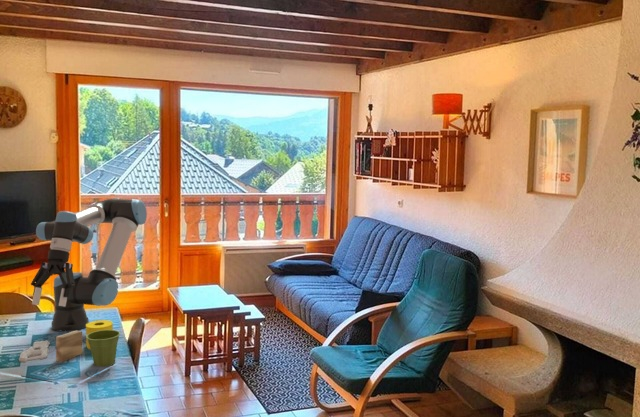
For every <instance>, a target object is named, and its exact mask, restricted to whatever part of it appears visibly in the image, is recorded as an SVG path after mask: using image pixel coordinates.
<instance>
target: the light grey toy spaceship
mask: <svg viewBox="0 0 640 417" xmlns="http://www.w3.org/2000/svg"><path fill="white" fill-rule="evenodd" d="M49 345H51V342H50V341H48V340H41V341H33V343H32V346H31V345H30V346H29V348H28V349H27V350H24V351H22V352H20V354H19V358H18V362H19V363H20V362H21V363H27V362H29V361H35V360H44V359H47V358H48V355H49V353H50V349H49Z"/></svg>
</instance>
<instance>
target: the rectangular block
mask: <svg viewBox="0 0 640 417" xmlns="http://www.w3.org/2000/svg"><path fill="white" fill-rule="evenodd" d="M55 338H56V339H55V355H56V357H55V360H56V362H59V363H60V362H62V363H63V362H66V361H69V360H70V359H73V358H74V357H77V356H79V355H81V354H83V331H81V330H74V331H69V332H66V333H63V334H60V335H57V336H55Z"/></svg>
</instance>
